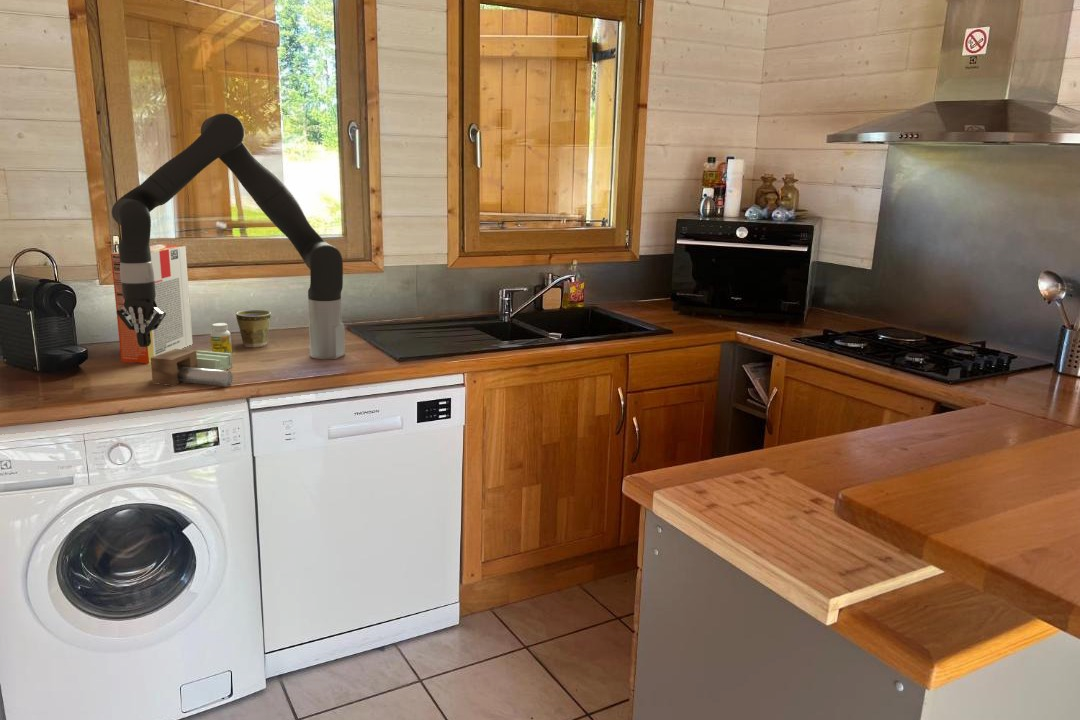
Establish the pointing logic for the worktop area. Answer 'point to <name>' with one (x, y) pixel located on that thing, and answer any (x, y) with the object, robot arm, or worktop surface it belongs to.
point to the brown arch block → (171, 365)
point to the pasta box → (159, 305)
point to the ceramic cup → (254, 326)
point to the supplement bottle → (221, 338)
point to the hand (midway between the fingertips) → (144, 346)
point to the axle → (204, 376)
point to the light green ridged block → (214, 360)
